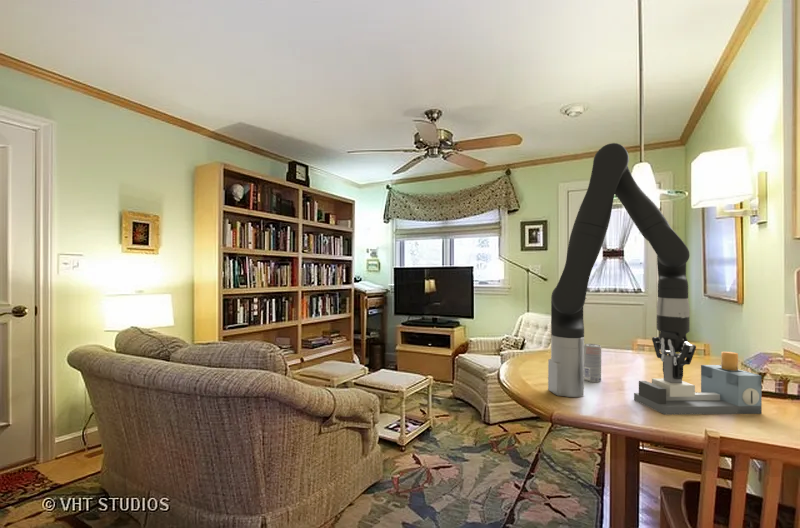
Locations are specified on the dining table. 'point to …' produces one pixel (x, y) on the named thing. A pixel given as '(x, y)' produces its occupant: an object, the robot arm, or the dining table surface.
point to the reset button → (729, 360)
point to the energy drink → (592, 362)
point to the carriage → (673, 381)
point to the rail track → (709, 394)
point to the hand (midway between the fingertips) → (672, 376)
